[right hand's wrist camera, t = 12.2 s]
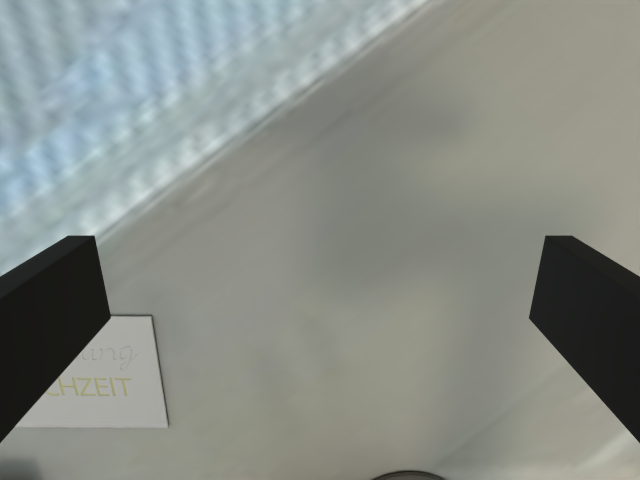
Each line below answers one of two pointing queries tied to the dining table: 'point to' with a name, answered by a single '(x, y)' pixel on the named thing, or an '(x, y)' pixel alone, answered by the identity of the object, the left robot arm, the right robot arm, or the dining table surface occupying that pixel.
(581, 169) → the dining table surface
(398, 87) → the dining table surface
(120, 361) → the invitation card
